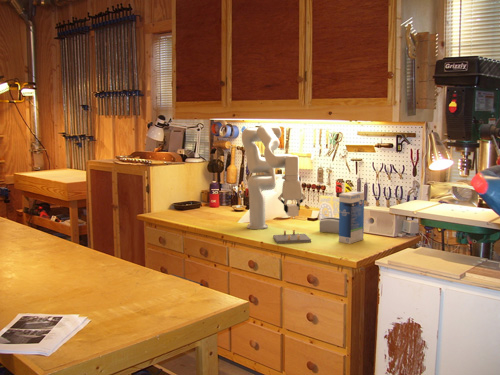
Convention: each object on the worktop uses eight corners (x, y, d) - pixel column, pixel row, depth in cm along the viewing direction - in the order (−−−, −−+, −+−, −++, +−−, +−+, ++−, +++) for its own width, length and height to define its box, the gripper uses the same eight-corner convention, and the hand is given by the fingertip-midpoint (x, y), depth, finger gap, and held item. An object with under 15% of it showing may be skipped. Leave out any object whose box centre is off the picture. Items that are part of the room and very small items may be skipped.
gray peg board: (273, 237, 282) (273, 230, 281) (305, 236, 284) (305, 229, 283) (277, 243, 268) (277, 236, 267) (310, 242, 270) (310, 234, 269)
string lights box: (352, 237, 280) (353, 190, 276) (364, 239, 274) (365, 192, 271) (338, 241, 270) (338, 193, 267) (350, 244, 265) (351, 195, 262)
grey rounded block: (349, 232, 293) (348, 217, 289) (347, 236, 289) (345, 221, 285) (322, 229, 301) (320, 214, 297) (319, 233, 297) (317, 218, 293)
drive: (298, 215, 269) (298, 206, 269) (288, 216, 269) (288, 206, 268) (295, 212, 278) (295, 203, 278) (285, 213, 278) (285, 204, 277)
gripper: (277, 179, 267) (277, 213, 269) (309, 178, 269) (309, 212, 271) (274, 177, 274) (274, 211, 277) (306, 177, 276) (305, 210, 279)
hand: (291, 211), depth 274 cm, fingers closed on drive, 5 cm apart
